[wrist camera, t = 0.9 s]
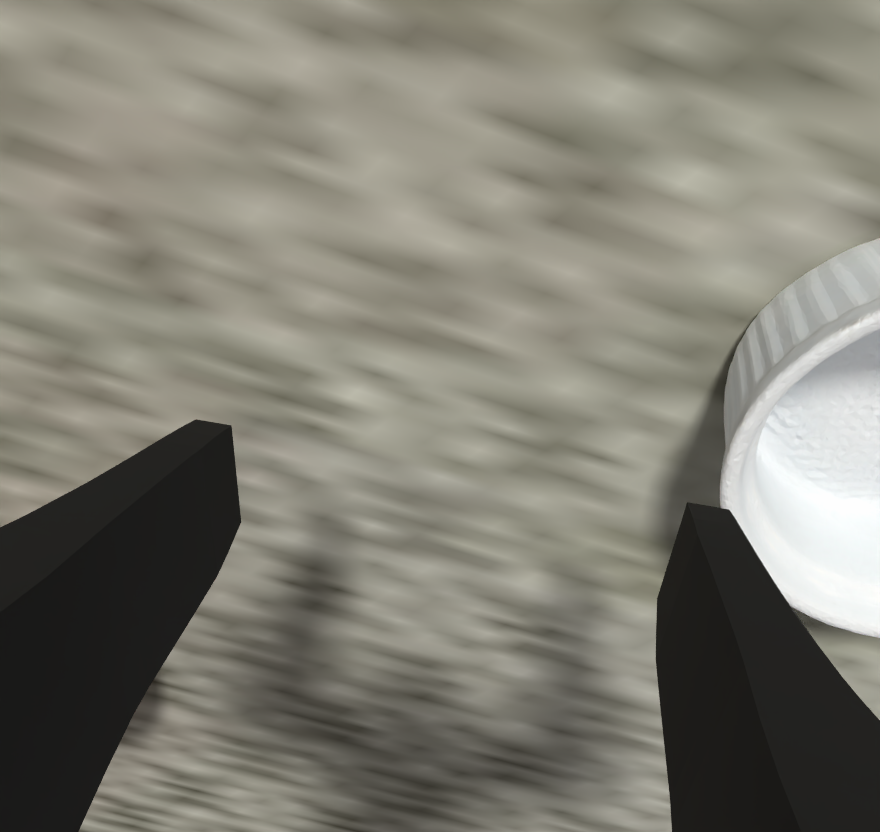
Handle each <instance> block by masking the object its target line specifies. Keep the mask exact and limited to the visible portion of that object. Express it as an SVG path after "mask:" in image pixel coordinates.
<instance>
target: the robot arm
mask: <svg viewBox="0 0 880 832" xmlns="http://www.w3.org/2000/svg"><path fill="white" fill-rule="evenodd" d="M240 523H241V516H240V506H239V496H238V486H237V476H236V466H235V456H234V447H233V437H232V427H231V425H225V424H219V423H213V422H208V421H202V420H194V421H192V422H190V423H188V424H186V425H185V426H183V427H181V428H179V429H177V430H176V431H174V432H172V433H171V434H169V435H167V436H165V437H164V438H162V439H160V440H159V441H157V442H155V443H154V444H152V445H150V446H149V447H147V448H145V449H144V450H142V451H140V452H139V453H137V454H135V455H134V456H132V457H130V458H129V459H127V460H125V461H123V462H122V463H120V464H118V465H117V466H115V467H113V468H112V469H110V470H108V471H106V472H105V473H103V474H101V475H100V476H98V477H96V478H94V479H93V480H91V481H89V482H87V483H86V484H84V485H82V486H80V487H78V488H76V489H74V490H73V491H71V492H69V493H67V494H65V495H63V496H61V497H59V498H57V499H56V500H54V501H52V502H50V503H48V504H46V505H44V506H42V507H41V508H39V509H37V510H35V511H33V512H31V513H29V514H27V515H25V516H23V517H21V518H19V519H17V520H15V521H13V522H11V523H9V524H7V525H5V526H2V527H0V832H78V831H79V829H80V827H81V824H82V822H83V820H84V818H85V816H86V814H87V811H88V809H89V807H90V805H91V803H92V800H93V798H94V796H95V794H96V792H97V789H98V787H99V785H100V783H101V781H102V778H103V776H104V774H105V772H106V770H107V768H108V766H109V764H110V761H111V759H112V757H113V755H114V753H115V751H116V749H117V747H118V745H119V743H120V741H121V739H122V737H123V735H124V733H125V731H126V729H127V726H128V724H129V722H130V720H131V718H132V716H133V714H134V712H135V711H136V709H137V707H138V705H139V703H140V702H141V700H142V698H143V696H144V695H145V693H146V691H147V689H148V687H149V686H150V684H151V683H152V681H153V679H154V678H155V676H156V675H157V673H158V671H159V670H160V668H161V667H162V665H163V663H164V662H165V660H166V658H167V657H168V655H169V654H170V652H171V650H172V649H173V647H174V646H175V644H176V642H177V641H178V639H179V638H180V636H181V634H182V633H183V631H184V629H185V628H186V626H187V625H188V623H189V621H190V620H191V618H192V617H193V615H194V613H195V612H196V610H197V608H198V607H199V605H200V604H201V602H202V600H203V599H204V597H205V595H206V594H207V592H208V590H209V589H210V587H211V585H212V584H213V582H214V580H215V579H216V577H217V575H218V573H219V571H220V569H221V567H222V565H223V562H224V560H225V558H226V556H227V554H228V552H229V549H230V547H231V544H232V542H233V540H234V537H235V535H236V533H237V530H238V528H239V526H240ZM656 666H657V677H658V687H659V697H660V707H661V716H662V726H663V735H664V745H665V754H666V764H667V773H668V783H669V792H670V803H671V820H672V832H880V720H879V719H878V718H877V717H876V716H875V715H874V714H873V713H872V711H871V710H870V709H869V708H868V707H867V706H866V705H865V704H864V702H863V701H862V700H861V699H860V698H859V697H858V696H857V694H856V693H855V692H854V691H853V690H852V688H851V687H850V686H849V685H848V684H847V682H846V681H845V680H844V679H843V677H842V676H841V675H840V674H839V672H838V671H837V670H836V668H835V667H834V666H833V664H832V663H831V662H830V660H829V659H828V658H827V657H826V655H825V654H824V653H823V651H822V650H821V649H820V647H819V646H818V645H817V643H816V642H815V640H814V639H813V638H812V636H811V635H810V634H809V632H808V631H807V629H806V628H805V627H804V625H803V624H802V622H801V621H800V619H799V618H798V616H797V615H796V613H795V612H794V610H793V609H792V607H791V606H790V605H789V603H788V602H787V600H786V599H785V597H784V596H783V594H782V593H781V591H780V590H779V588H778V587H777V585H776V584H775V582H774V581H773V579H772V577H771V576H770V574H769V573H768V571H767V569H766V568H765V566H764V565H763V563H762V561H761V560H760V558H759V557H758V555H757V553H756V552H755V550H754V548H753V547H752V545H751V544H750V542H749V540H748V539H747V537H746V535H745V534H744V532H743V530H742V529H741V527H740V525H739V524H738V522H737V520H736V519H735V517H734V516H733V514H732V513H731V511H730V510H729V509H723V508H717V507H711V506H705V505H699V504H693V503H687V505H686V509H685V512H684V515H683V518H682V521H681V525H680V528H679V531H678V534H677V537H676V541H675V544H674V547H673V550H672V553H671V557H670V560H669V563H668V566H667V569H666V572H665V576H664V579H663V582H662V585H661V588H660V592H659V595H658V598H657V626H656Z"/></svg>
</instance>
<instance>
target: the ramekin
mask: <svg viewBox="0 0 880 832" xmlns="http://www.w3.org/2000/svg"><path fill="white" fill-rule="evenodd" d="M724 429H725V444H726V449H725V454H724V458H723V463H722V469H721V479H720V507H721V508H723V509H729V510H730V511H731V513H732V514H733V516H734V517H735V519H736V520H737V522H738V524H739V525H740V527H741V529H742V530H743V532H744V534H745V535H746V537H747V539H748V540H749V542H750V544H751V545H752V547H753V548H754V550H755V552H756V553H757V555H758V557H759V558H760V560H761V561H762V563H763V565H764V566H765V568H766V569H767V571H768V573H769V574H770V576H771V577H772V579H773V581H774V582H775V584H776V585H777V587H778V588H779V590H780V591H781V593H782V594H783V596H784V597H785V599H786V600H787V602H788V603H789V605H790V606H791V607H793V608H795V609H796V610H798V611H800V612H802V613H804V614H806V615H808V616H810V617H812V618H814V619H816V620H819V621H821V622H824V623H825V624H827V625H830V626H834V627H837V628H842V629H845V630H848V631H851V632H854V633H858V634H862V635H867V636H873V637H877V638H880V238H878V239H875V240H873V241H870V242H867V243H864V244H861V245H858V246H856V247H853V248H851V249H848V250H846V251H844V252H842V253H841V254H839V255H837V256H835V257H833V258H831V259H829V260H827V261H826V262H824V263H822V264H821V265H819V266H818V267H816V268H814V269H812V270H811V271H809V272H807V273H805V274H804V275H803V276H801V277H800V278H799V279H797V280H796V281H795V282H793V283H792V284H790V285H789V286H788V287H786V288H785V289H783V290H782V291H781V292H780V293H779V294H778V295H776V296H775V297H774V298H773V299H772V300H771V302H770V303H769V304H767V305H766V306H765V307H764V308H763V309H762V310H761V311H760V312H759V314H758V315H757V317H756V318H755V319H754V320H753V322H752V323H751V324H750V325H749V327H748V328H747V330H746V332H745V334H744V336H743V338H742V339H741V341H740V343H739V344H738V346H737V348H736V351H735V354H734V357H733V361H732V362H731V365H730V367H729V371H728V377H727V382H726V386H725V401H724Z"/></svg>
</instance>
